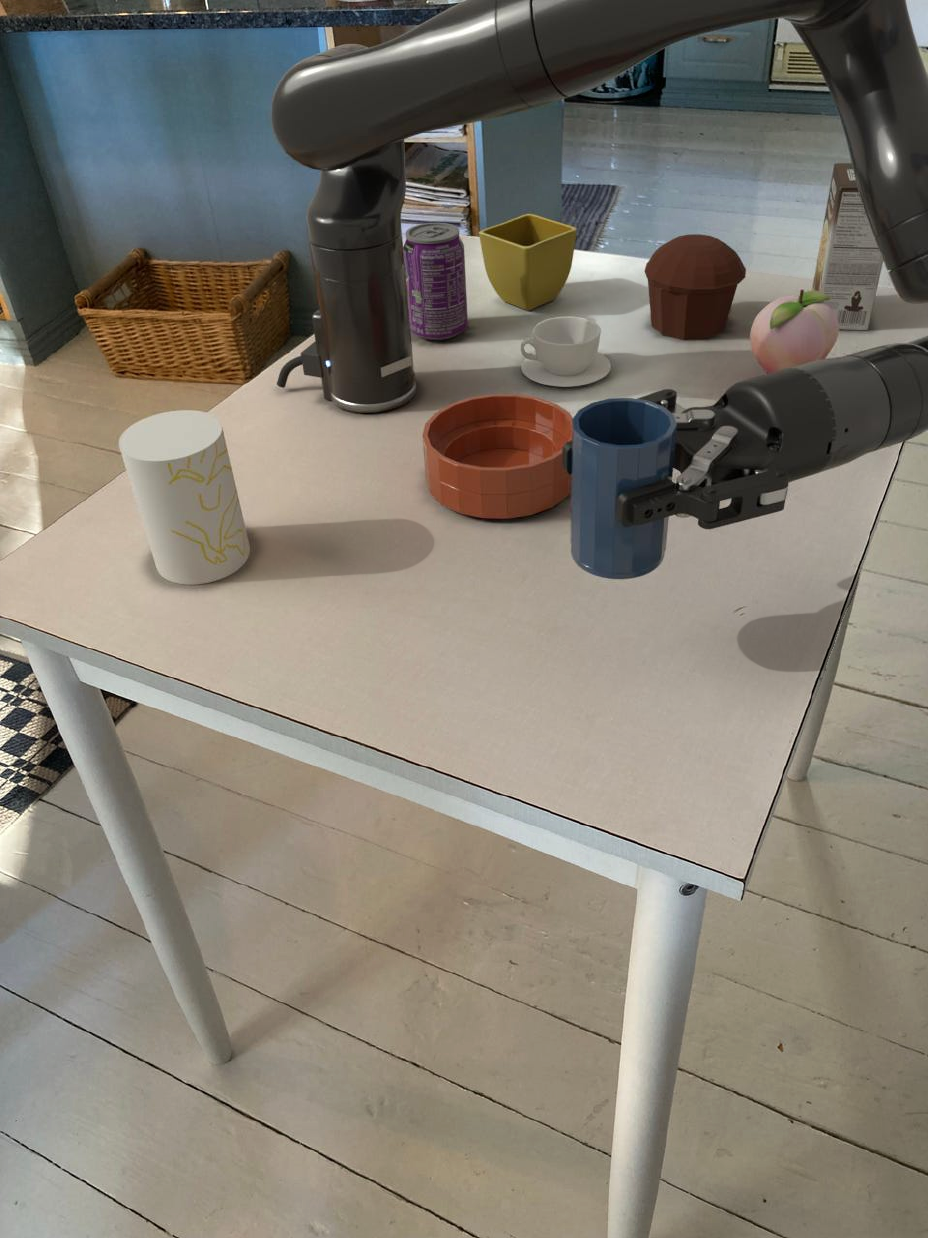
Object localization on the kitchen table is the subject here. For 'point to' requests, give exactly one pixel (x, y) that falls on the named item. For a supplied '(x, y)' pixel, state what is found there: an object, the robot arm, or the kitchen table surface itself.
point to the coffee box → (847, 254)
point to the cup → (186, 495)
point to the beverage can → (435, 281)
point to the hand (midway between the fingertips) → (591, 484)
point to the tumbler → (618, 484)
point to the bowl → (497, 455)
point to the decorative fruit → (794, 331)
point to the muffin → (692, 286)
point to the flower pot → (528, 259)
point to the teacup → (565, 353)
